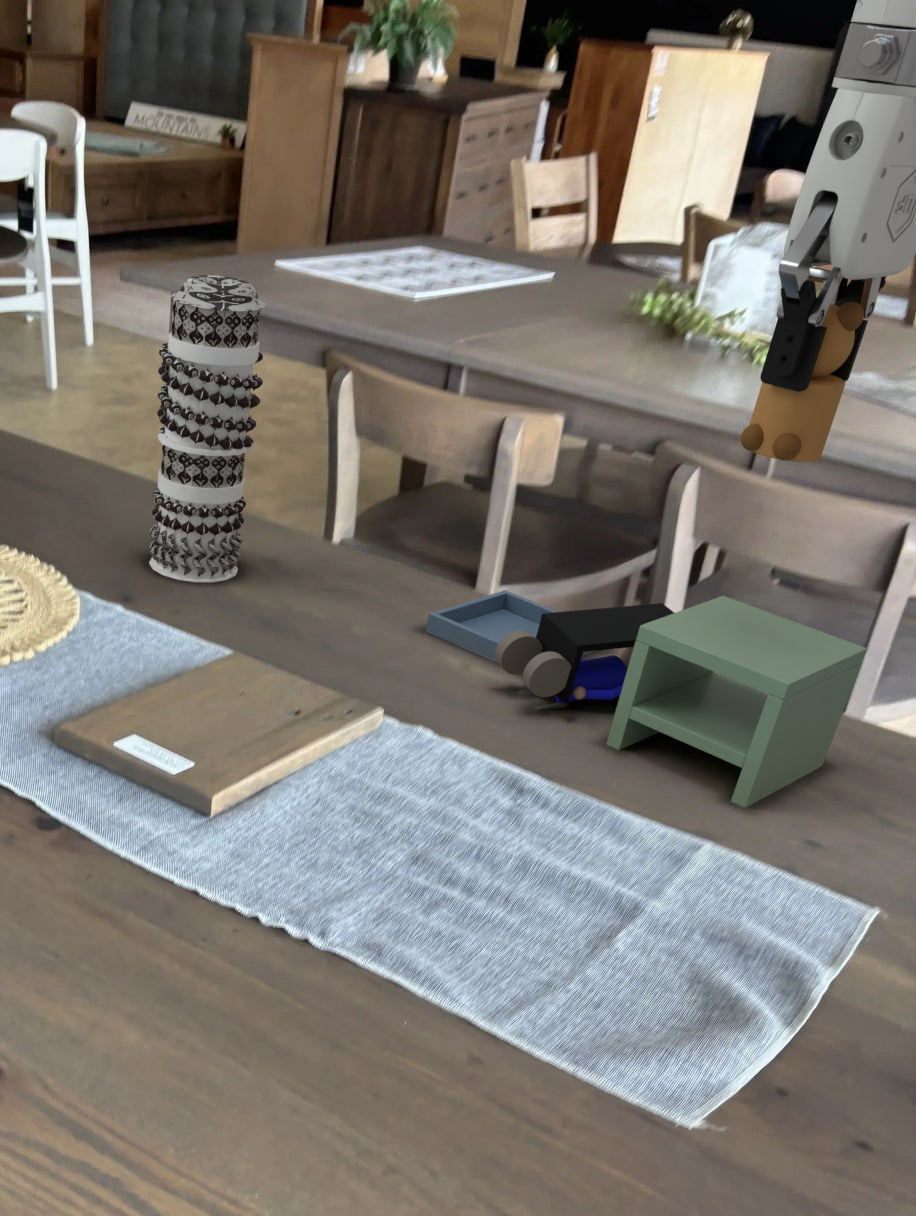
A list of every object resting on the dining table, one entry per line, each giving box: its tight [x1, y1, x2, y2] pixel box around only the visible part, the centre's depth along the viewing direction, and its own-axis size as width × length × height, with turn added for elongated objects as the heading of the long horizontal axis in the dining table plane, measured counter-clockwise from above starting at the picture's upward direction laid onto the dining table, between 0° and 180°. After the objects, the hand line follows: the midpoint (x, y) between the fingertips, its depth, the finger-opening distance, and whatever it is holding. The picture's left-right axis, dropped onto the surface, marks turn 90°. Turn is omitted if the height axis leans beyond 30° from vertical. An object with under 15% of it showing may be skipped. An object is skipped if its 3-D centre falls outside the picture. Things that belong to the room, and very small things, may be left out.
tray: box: [425, 590, 599, 664], centre depth 125 cm, size 11×11×2 cm
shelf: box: [605, 595, 868, 809], centre depth 107 cm, size 12×12×10 cm
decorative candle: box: [148, 274, 267, 583], centre depth 126 cm, size 9×9×25 cm
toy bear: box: [740, 302, 865, 463], centre depth 95 cm, size 6×5×10 cm
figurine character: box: [495, 602, 675, 711], centre depth 114 cm, size 7×8×15 cm
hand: (804, 379), depth 96 cm, fingers closed on toy bear, 5 cm apart
